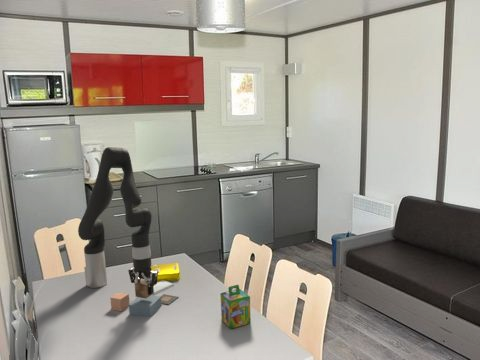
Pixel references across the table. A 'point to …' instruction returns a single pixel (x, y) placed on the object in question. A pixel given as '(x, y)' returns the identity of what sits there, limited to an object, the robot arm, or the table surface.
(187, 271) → the table surface
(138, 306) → the slate base block
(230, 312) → the chalk box
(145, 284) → the walnut cube
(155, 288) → the hard drive
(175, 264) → the element tile
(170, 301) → the tile
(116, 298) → the terracotta cube
